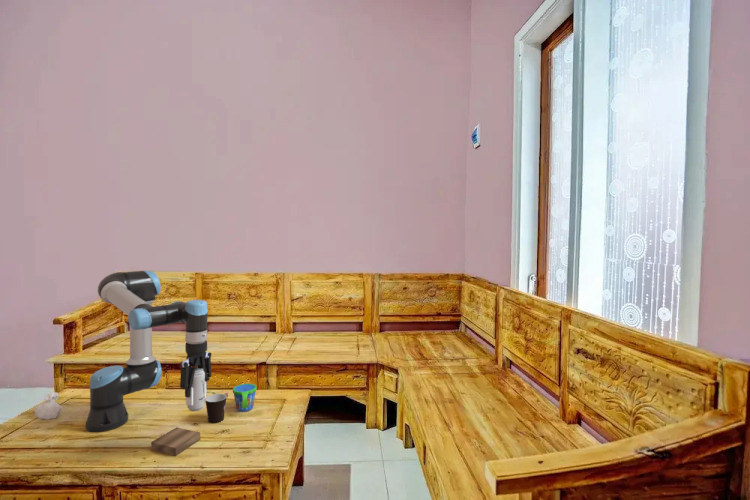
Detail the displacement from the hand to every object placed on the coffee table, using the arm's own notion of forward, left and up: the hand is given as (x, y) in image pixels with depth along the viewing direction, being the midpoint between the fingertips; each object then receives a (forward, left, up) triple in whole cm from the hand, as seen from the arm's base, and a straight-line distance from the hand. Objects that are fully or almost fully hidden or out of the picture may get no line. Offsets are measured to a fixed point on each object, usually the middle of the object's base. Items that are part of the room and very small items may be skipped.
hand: (196, 400), depth 148 cm
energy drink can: (0, 0, -3) cm, 3 cm away
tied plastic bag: (-80, -2, -18) cm, 82 cm away
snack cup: (-4, +34, -18) cm, 39 cm away
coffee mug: (-9, +22, -18) cm, 30 cm away
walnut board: (-9, -1, -18) cm, 20 cm away
